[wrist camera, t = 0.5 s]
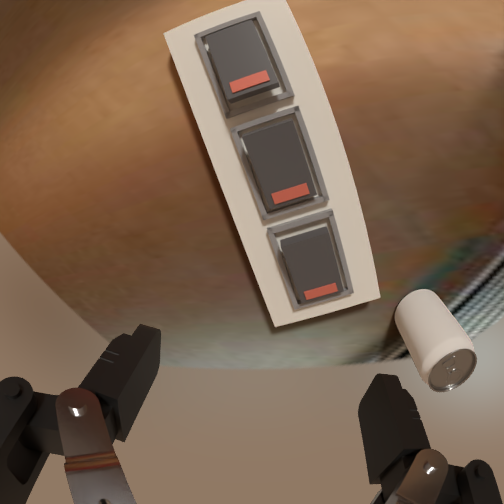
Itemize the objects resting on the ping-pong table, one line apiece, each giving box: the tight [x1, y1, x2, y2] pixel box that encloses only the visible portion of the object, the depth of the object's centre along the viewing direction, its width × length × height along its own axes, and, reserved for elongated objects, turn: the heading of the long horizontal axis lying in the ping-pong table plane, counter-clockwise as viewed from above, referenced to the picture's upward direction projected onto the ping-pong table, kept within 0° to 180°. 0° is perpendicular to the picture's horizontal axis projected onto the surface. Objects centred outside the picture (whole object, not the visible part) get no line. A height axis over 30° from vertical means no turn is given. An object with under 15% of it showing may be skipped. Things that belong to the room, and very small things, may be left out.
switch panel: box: [164, 0, 380, 327], centre depth 29 cm, size 12×33×4 cm, turn 20°
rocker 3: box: [280, 226, 344, 303], centre depth 30 cm, size 4×7×1 cm, turn 20°
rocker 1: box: [205, 20, 280, 104], centre depth 24 cm, size 4×7×1 cm, turn 20°
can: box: [395, 289, 477, 392], centre depth 30 cm, size 6×6×12 cm
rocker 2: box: [242, 118, 317, 209], centre depth 27 cm, size 4×7×1 cm, turn 20°
